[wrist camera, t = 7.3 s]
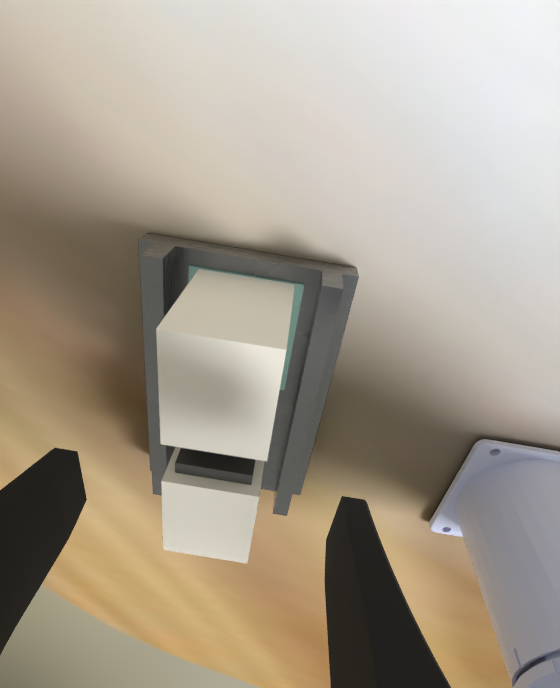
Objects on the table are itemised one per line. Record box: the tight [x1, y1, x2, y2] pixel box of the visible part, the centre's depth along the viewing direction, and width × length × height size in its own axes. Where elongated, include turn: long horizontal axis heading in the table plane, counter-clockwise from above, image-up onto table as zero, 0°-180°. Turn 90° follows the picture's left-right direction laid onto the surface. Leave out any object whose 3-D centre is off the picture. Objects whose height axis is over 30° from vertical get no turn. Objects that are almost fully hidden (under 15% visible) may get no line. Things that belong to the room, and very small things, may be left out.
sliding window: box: [138, 233, 359, 516], centre depth 19 cm, size 9×14×2 cm, turn 172°
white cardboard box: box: [156, 269, 295, 461], centre depth 15 cm, size 4×6×5 cm
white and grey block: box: [161, 447, 265, 563], centre depth 19 cm, size 4×6×5 cm
